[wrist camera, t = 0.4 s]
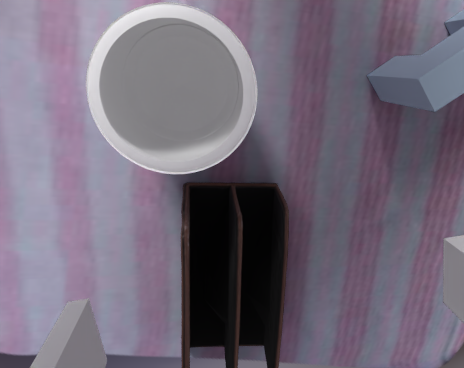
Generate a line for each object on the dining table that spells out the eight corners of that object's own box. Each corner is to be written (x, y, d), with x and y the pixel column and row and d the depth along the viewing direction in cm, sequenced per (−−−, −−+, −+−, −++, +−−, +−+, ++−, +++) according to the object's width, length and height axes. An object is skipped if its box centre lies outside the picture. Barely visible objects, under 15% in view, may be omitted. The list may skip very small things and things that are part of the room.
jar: (258, 62, 39) (289, 61, 24) (206, 154, 41) (207, 202, 27) (159, 2, 37) (129, -38, 22) (110, 102, 39) (55, 124, 24)
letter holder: (183, 341, 47) (175, 451, 34) (183, 180, 42) (173, 236, 28) (267, 339, 48) (291, 447, 35) (277, 182, 42) (311, 236, 29)
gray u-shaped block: (380, 100, 41) (434, 111, 31) (366, 75, 40) (418, 78, 30) (486, 29, 39) (577, 18, 30) (474, 2, 38) (563, -19, 29)
